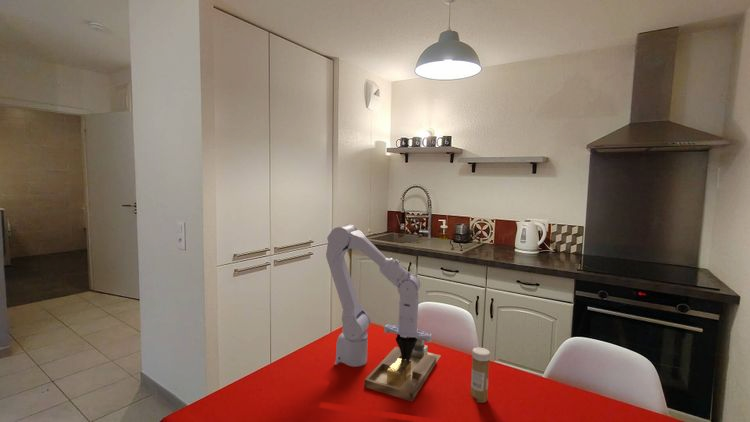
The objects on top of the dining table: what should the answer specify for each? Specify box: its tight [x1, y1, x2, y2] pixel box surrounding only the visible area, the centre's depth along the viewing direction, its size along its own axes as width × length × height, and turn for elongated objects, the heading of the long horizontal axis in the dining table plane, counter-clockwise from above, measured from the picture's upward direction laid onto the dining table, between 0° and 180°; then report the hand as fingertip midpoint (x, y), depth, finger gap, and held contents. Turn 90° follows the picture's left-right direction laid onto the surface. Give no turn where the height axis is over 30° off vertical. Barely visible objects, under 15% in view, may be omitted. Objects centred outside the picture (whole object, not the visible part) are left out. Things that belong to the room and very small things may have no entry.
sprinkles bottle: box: [470, 347, 491, 404], centre depth 96 cm, size 5×5×14 cm
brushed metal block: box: [411, 339, 429, 359], centre depth 118 cm, size 6×5×6 cm
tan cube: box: [394, 358, 411, 381], centre depth 105 cm, size 4×4×4 cm
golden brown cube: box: [387, 364, 406, 388], centre depth 101 cm, size 4×4×4 cm
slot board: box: [364, 346, 442, 402], centre depth 108 cm, size 14×28×3 cm, turn 155°
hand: (406, 359), depth 108 cm, fingers closed
